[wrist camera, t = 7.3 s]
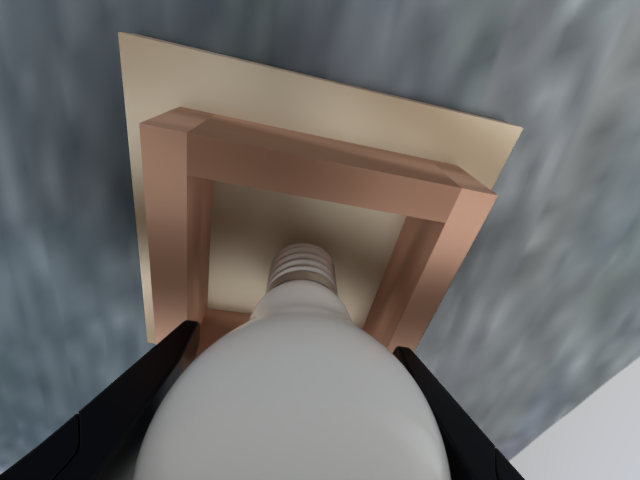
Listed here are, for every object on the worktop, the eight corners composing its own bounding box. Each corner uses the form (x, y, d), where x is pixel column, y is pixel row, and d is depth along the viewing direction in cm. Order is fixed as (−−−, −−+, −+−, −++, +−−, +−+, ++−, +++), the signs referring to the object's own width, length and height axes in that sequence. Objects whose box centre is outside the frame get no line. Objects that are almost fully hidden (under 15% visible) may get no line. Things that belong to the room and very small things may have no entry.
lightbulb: (247, 321, 15) (145, 753, 6) (210, 202, 12) (-153, 733, 3) (377, 308, 15) (490, 733, 6) (374, 184, 12) (626, 685, 2)
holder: (392, 353, 19) (411, 421, 16) (156, 325, 18) (117, 395, 14) (505, 121, 13) (585, 149, 9) (136, 34, 11) (47, 23, 7)
